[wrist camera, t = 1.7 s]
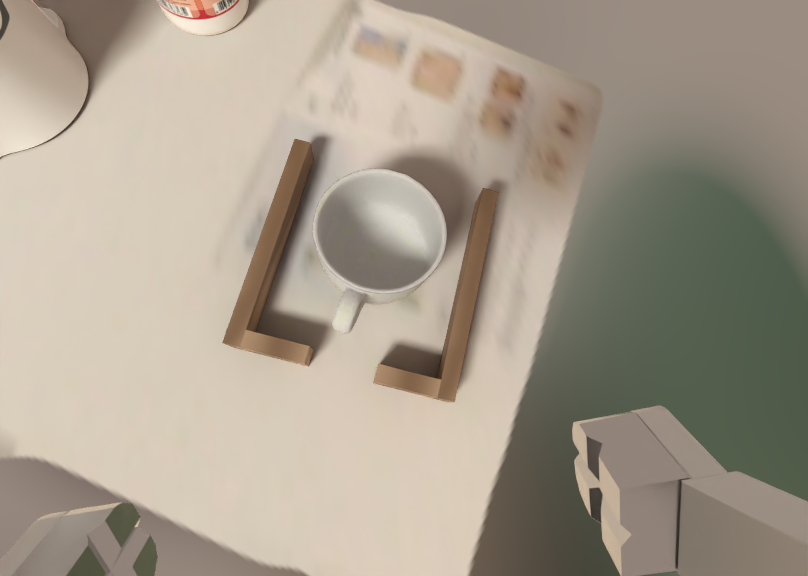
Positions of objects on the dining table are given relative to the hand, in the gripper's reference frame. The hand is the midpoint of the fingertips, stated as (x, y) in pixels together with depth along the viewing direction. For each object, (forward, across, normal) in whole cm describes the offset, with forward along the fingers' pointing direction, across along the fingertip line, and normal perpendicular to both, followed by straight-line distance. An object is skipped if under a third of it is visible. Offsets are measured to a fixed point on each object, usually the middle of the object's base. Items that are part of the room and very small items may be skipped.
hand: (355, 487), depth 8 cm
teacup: (+35, +3, +8) cm, 36 cm away
